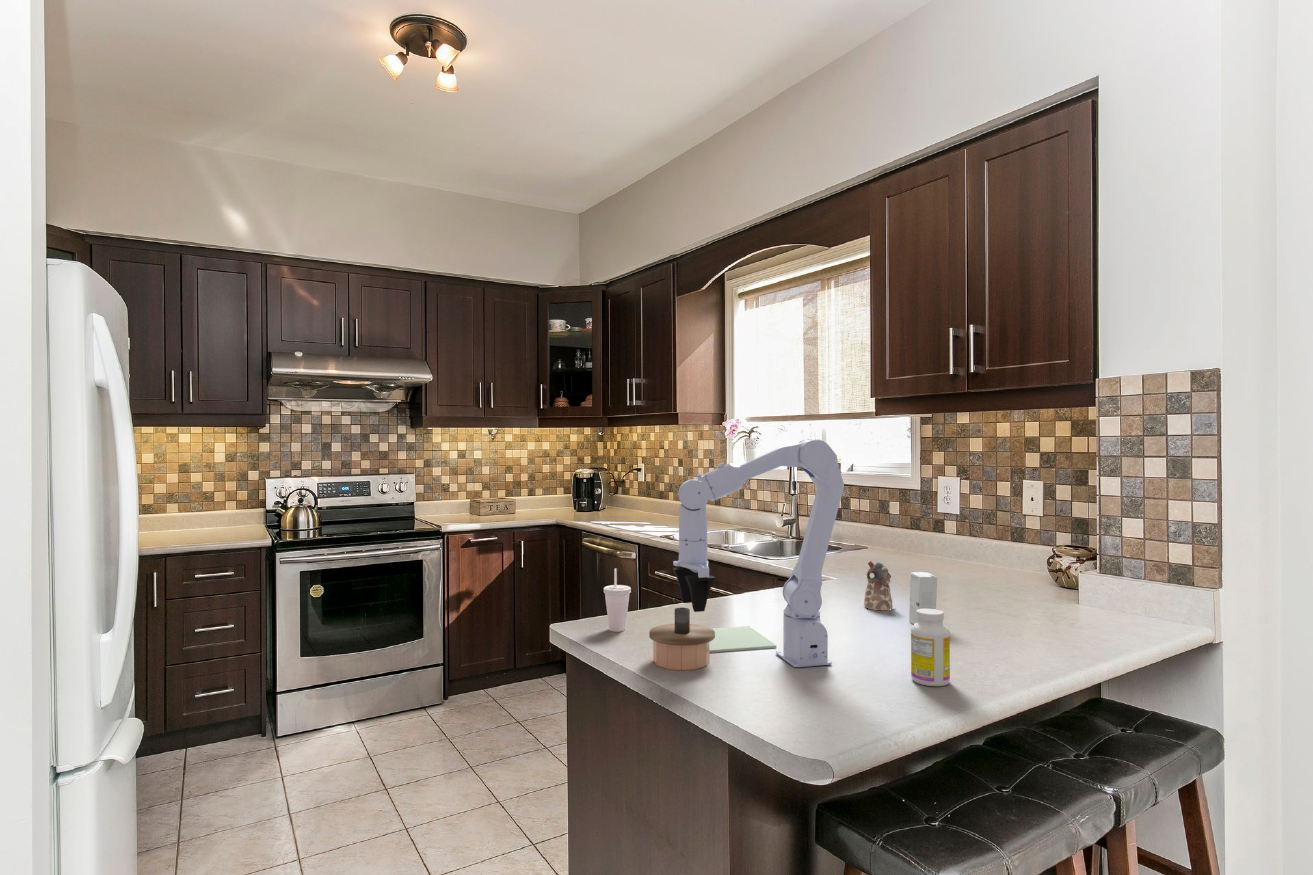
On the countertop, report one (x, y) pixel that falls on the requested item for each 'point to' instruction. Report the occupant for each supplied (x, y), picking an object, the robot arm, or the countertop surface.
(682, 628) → the lid
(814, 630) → the robot arm
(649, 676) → the countertop surface
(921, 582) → the skincare box
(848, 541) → the countertop surface
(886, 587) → the figurine
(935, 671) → the supplement bottle
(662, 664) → the bowl
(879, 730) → the countertop surface
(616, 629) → the smoothie
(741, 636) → the mat
